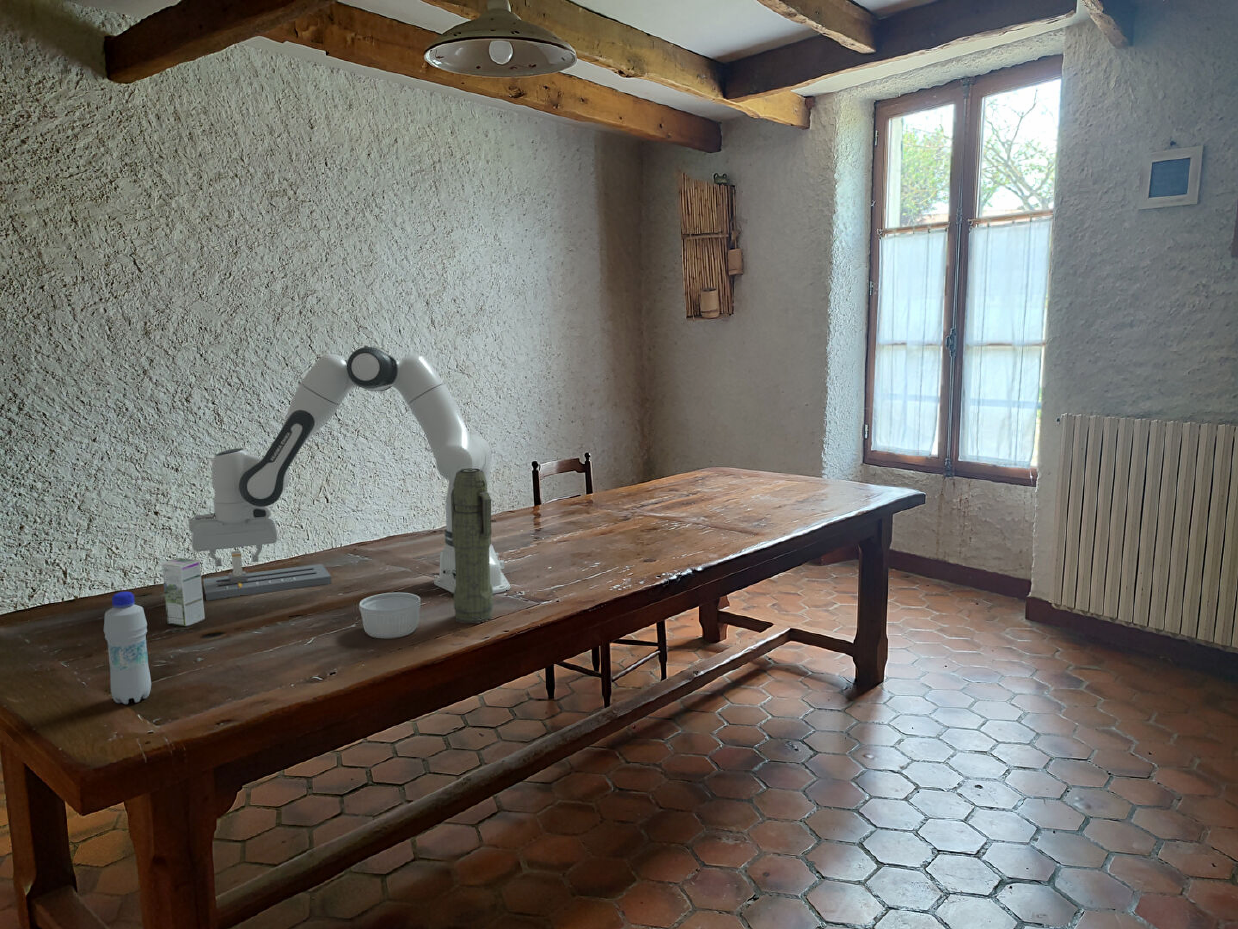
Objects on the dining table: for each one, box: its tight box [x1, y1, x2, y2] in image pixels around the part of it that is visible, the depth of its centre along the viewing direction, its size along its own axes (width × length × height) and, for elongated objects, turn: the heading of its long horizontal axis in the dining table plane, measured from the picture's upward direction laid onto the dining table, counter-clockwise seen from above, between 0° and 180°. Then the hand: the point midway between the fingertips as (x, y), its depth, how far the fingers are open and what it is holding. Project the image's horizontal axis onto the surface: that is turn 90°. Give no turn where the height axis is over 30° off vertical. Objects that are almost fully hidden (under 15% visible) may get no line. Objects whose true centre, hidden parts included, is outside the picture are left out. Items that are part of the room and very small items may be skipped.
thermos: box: [451, 468, 494, 624], centre depth 191 cm, size 9×12×35 cm
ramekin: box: [358, 592, 422, 639], centre depth 185 cm, size 13×13×7 cm
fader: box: [228, 550, 247, 584], centre depth 215 cm, size 5×4×8 cm
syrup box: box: [161, 557, 206, 627], centre depth 190 cm, size 6×6×14 cm
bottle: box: [103, 591, 152, 705], centre depth 148 cm, size 7×7×20 cm
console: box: [202, 563, 332, 601], centre depth 219 cm, size 14×30×2 cm, turn 119°
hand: (237, 563), depth 215 cm, fingers open, 7 cm apart
